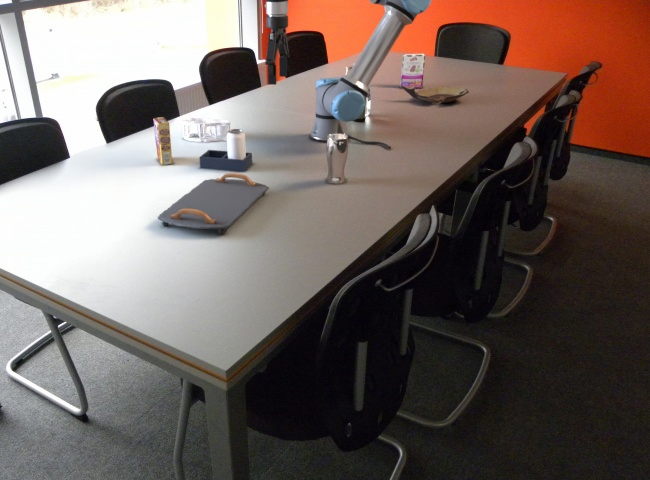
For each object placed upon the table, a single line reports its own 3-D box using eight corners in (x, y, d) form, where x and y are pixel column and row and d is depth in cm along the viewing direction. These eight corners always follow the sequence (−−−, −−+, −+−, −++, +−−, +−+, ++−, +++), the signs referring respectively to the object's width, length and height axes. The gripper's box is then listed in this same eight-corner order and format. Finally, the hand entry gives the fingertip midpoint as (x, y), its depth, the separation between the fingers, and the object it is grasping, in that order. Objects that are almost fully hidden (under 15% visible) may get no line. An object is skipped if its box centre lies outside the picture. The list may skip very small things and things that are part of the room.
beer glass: (348, 178, 206) (350, 133, 198) (344, 185, 200) (346, 140, 192) (328, 176, 208) (329, 132, 200) (323, 183, 202) (324, 138, 195)
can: (244, 167, 216) (242, 133, 210) (226, 167, 217) (224, 133, 211) (247, 161, 222) (246, 128, 216) (230, 161, 223) (228, 128, 217)
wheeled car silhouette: (236, 136, 252) (235, 119, 248) (224, 144, 244) (223, 126, 240) (194, 132, 260) (192, 115, 256) (181, 140, 251) (179, 122, 247)
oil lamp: (461, 109, 278) (463, 91, 274) (396, 103, 291) (398, 87, 287) (471, 98, 295) (473, 81, 291) (410, 93, 307) (411, 77, 303)
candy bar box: (421, 86, 321) (425, 53, 312) (422, 88, 316) (425, 54, 308) (399, 86, 322) (402, 53, 314) (400, 88, 318) (403, 55, 310)
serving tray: (224, 240, 167) (223, 219, 164) (151, 230, 175) (148, 209, 171) (273, 191, 197) (273, 173, 194) (209, 184, 205) (208, 166, 202)
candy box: (173, 163, 225) (169, 122, 217) (162, 165, 224) (157, 123, 216) (168, 157, 232) (163, 116, 224) (157, 158, 231) (152, 118, 223)
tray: (252, 163, 222) (251, 152, 220) (244, 171, 215) (243, 160, 213) (209, 160, 227) (208, 149, 225) (200, 168, 220) (199, 157, 218)
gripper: (277, 10, 218) (277, 73, 229) (255, 19, 198) (257, 87, 209) (297, 10, 216) (297, 73, 227) (277, 19, 195) (278, 88, 206)
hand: (277, 80), depth 218 cm, fingers open, 13 cm apart
